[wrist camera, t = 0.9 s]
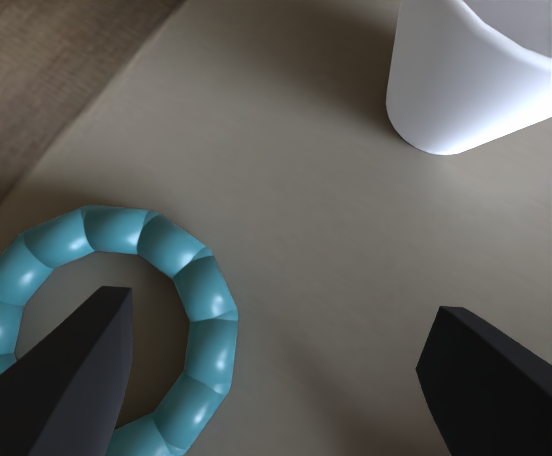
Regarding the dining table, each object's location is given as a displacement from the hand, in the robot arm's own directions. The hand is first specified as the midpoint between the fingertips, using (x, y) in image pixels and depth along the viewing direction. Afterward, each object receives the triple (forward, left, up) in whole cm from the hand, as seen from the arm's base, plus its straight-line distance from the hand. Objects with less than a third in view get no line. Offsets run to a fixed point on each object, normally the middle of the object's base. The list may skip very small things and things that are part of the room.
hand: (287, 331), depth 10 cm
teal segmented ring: (-2, +9, -13) cm, 16 cm away
